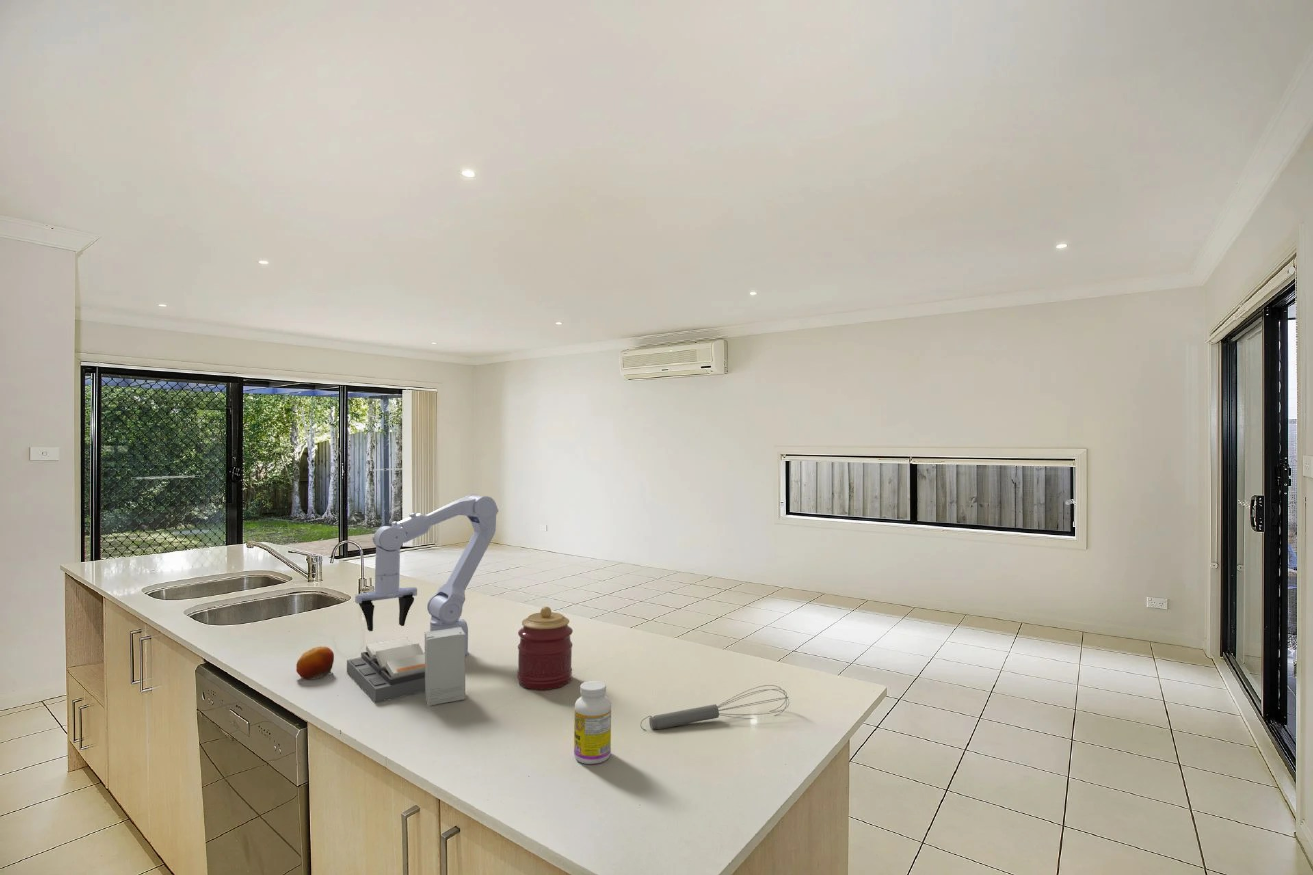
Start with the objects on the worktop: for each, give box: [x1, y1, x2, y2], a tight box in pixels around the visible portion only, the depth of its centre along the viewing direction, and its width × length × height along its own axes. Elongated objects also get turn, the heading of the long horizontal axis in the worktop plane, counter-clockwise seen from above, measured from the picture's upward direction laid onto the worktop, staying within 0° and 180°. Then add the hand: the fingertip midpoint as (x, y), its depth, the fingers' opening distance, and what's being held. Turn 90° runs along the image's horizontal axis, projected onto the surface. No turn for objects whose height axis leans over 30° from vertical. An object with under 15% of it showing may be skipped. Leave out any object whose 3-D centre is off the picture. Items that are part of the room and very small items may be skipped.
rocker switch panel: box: [346, 651, 425, 704], centre depth 149 cm, size 15×28×4 cm, turn 40°
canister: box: [516, 606, 573, 691], centre depth 148 cm, size 13×13×18 cm
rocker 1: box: [365, 636, 414, 660], centre depth 155 cm, size 10×6×2 cm, turn 130°
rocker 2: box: [386, 654, 425, 679], centre depth 143 cm, size 10×6×2 cm, turn 130°
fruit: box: [295, 646, 335, 680], centre depth 149 cm, size 8×8×8 cm
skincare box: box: [424, 627, 466, 707], centre depth 137 cm, size 8×6×15 cm
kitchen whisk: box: [640, 684, 791, 731], centre depth 127 cm, size 6×33×6 cm, turn 107°
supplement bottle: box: [573, 680, 612, 765], centre depth 112 cm, size 7×7×13 cm
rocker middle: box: [376, 643, 424, 669], centre depth 149 cm, size 10×6×2 cm, turn 130°
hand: (386, 627), depth 156 cm, fingers open, 7 cm apart
